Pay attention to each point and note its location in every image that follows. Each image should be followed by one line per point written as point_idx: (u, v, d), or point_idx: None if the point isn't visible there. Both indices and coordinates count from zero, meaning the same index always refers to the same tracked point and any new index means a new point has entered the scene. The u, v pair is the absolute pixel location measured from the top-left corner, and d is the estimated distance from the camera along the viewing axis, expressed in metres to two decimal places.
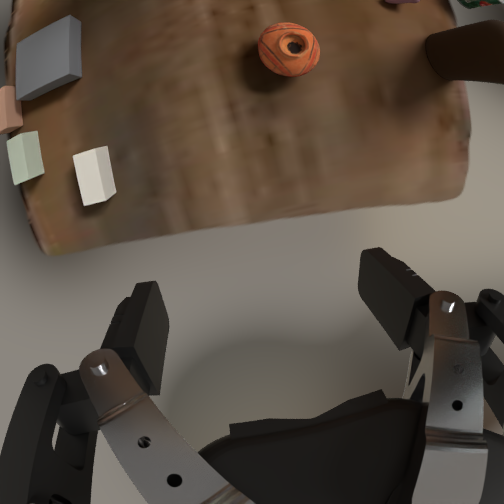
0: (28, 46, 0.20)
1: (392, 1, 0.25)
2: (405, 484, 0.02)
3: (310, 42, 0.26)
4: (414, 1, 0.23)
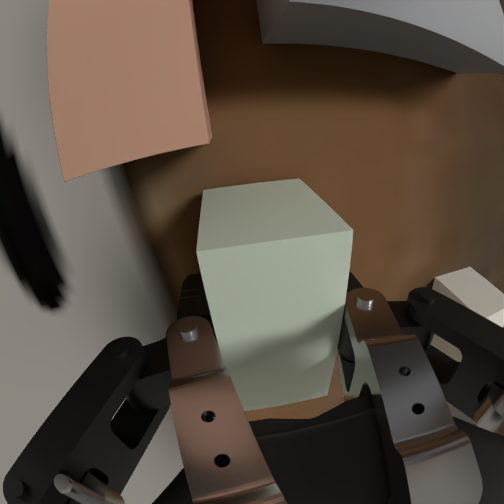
0: None
1: None
2: (396, 500, 0.02)
3: None
4: None
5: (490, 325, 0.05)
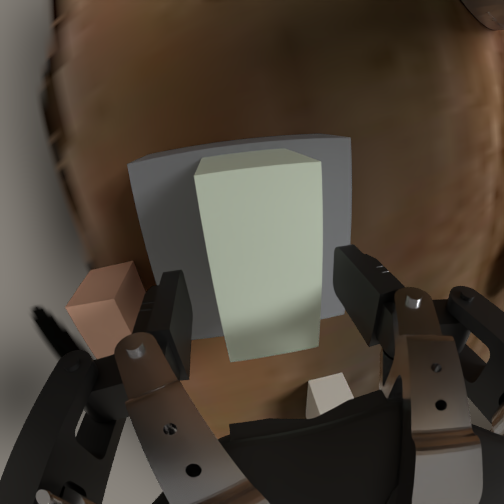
0: (191, 196, 0.12)
1: None
2: (401, 490, 0.02)
3: None
4: None
5: None
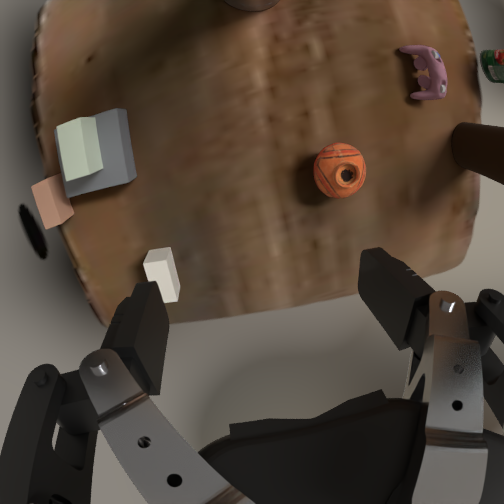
0: None
1: (418, 99, 0.34)
2: (405, 484, 0.02)
3: (360, 170, 0.34)
4: (439, 98, 0.32)
5: None
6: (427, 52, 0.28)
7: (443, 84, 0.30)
